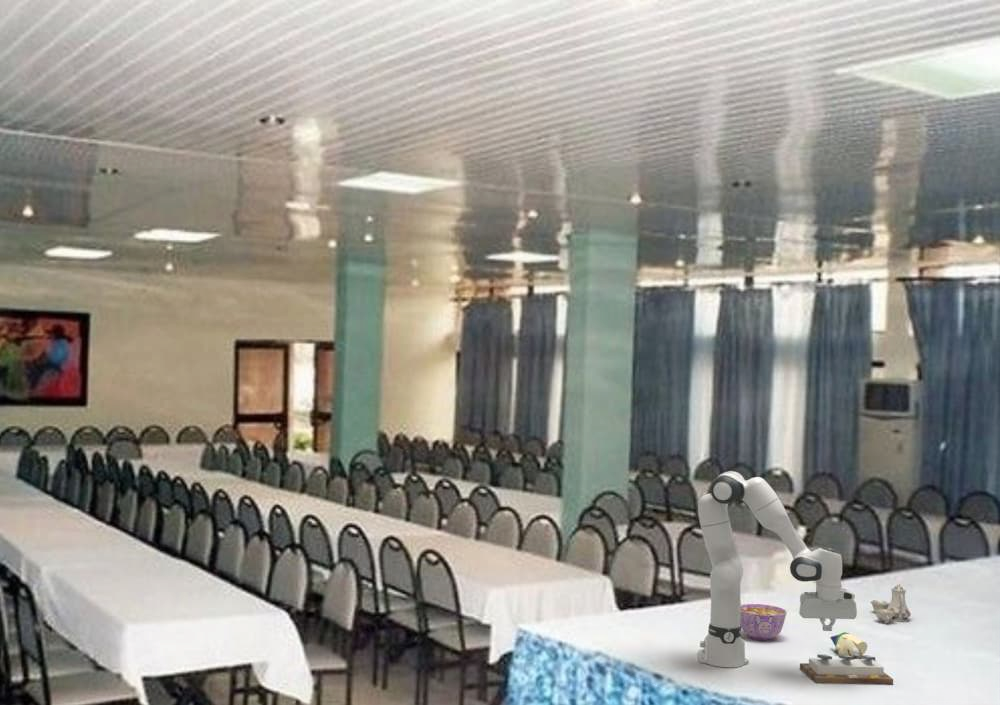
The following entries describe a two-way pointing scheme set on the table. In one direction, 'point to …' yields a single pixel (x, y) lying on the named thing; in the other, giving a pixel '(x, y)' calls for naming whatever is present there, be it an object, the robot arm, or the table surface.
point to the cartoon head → (849, 644)
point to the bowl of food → (762, 620)
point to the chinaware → (892, 607)
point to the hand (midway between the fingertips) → (827, 630)
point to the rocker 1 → (824, 656)
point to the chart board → (845, 677)
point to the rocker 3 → (867, 657)
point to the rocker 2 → (846, 657)
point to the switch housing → (845, 667)
